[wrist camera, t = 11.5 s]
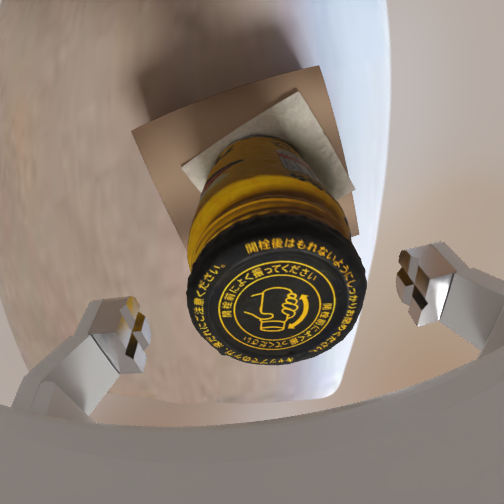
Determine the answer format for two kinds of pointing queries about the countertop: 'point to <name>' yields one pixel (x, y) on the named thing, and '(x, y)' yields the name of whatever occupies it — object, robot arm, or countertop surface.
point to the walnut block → (220, 125)
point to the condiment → (273, 241)
